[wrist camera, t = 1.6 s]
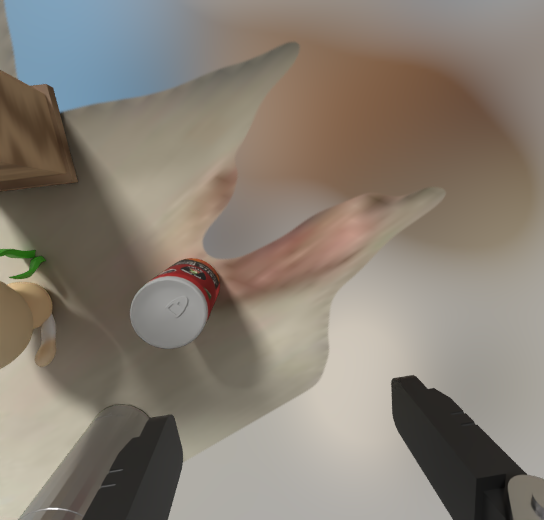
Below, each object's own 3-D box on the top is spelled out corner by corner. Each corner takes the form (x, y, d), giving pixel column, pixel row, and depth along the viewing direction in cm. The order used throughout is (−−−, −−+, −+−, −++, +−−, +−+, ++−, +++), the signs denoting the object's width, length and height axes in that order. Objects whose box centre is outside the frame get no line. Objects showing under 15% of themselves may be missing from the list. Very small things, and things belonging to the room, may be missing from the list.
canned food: (230, 272, 37) (220, 298, 26) (205, 318, 38) (186, 361, 28) (180, 246, 36) (149, 263, 25) (156, 295, 37) (116, 331, 26)
